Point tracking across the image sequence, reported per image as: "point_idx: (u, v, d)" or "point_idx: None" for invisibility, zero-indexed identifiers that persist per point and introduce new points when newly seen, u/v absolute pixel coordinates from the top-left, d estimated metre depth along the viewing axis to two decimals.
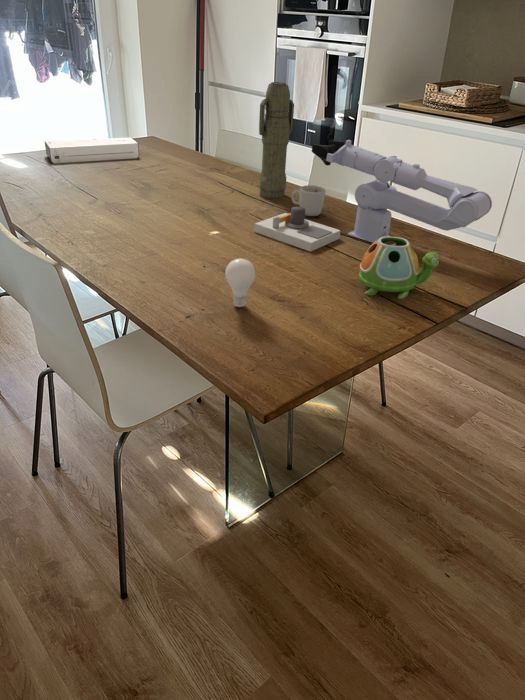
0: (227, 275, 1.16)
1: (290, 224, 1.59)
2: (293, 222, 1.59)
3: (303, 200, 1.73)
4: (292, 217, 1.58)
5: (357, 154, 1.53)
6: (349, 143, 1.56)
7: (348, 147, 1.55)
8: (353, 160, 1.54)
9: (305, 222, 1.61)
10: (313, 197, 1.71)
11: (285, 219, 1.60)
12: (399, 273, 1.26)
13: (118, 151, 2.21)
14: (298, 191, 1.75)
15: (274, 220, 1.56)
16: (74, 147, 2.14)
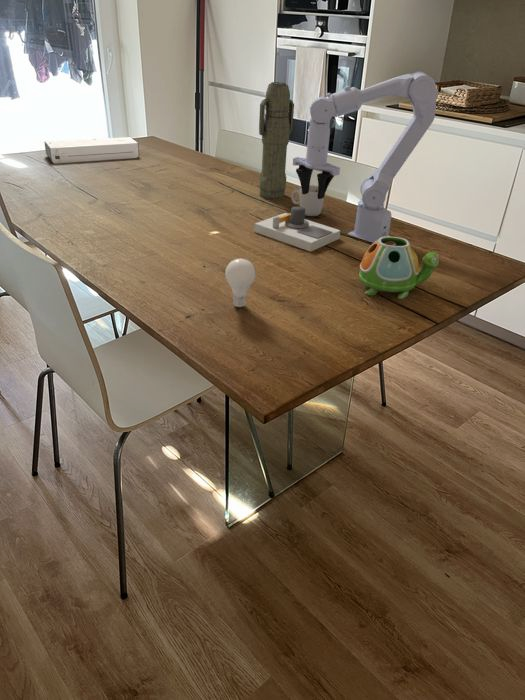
0: (227, 275, 1.16)
1: (290, 224, 1.59)
2: (293, 222, 1.59)
3: (303, 200, 1.73)
4: (292, 217, 1.58)
5: (320, 147, 1.49)
6: (308, 164, 1.52)
7: (315, 162, 1.51)
8: (326, 149, 1.50)
9: (305, 222, 1.61)
10: (313, 197, 1.71)
11: (285, 219, 1.60)
12: (399, 273, 1.26)
13: (118, 151, 2.22)
14: (298, 191, 1.75)
15: (274, 220, 1.56)
16: (74, 147, 2.14)
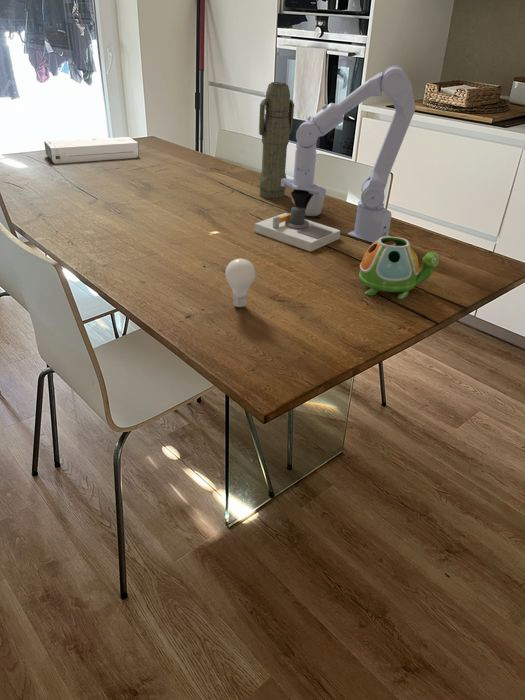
0: (227, 275, 1.16)
1: (290, 224, 1.59)
2: (293, 222, 1.59)
3: None
4: (292, 217, 1.58)
5: (307, 170, 1.54)
6: (295, 186, 1.57)
7: (301, 183, 1.56)
8: (312, 171, 1.55)
9: (305, 222, 1.61)
10: (313, 197, 1.71)
11: (285, 219, 1.60)
12: (399, 273, 1.26)
13: (118, 151, 2.22)
14: None
15: (274, 220, 1.56)
16: (75, 147, 2.14)
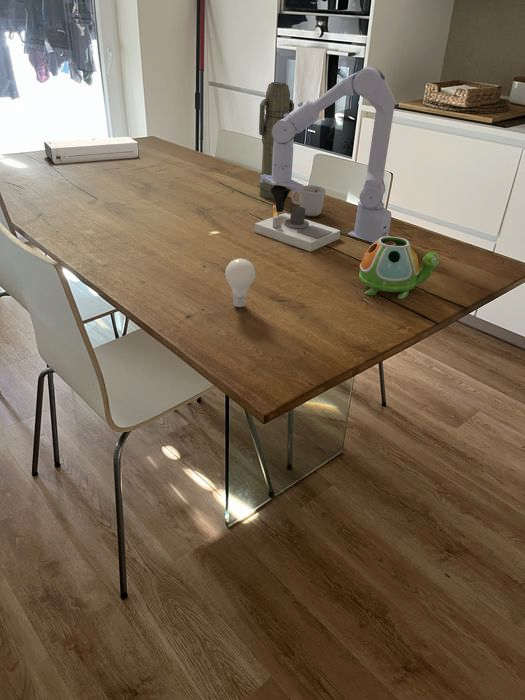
0: (227, 275, 1.16)
1: (290, 224, 1.59)
2: (293, 222, 1.59)
3: (303, 200, 1.73)
4: (292, 217, 1.58)
5: (284, 166, 1.57)
6: (274, 181, 1.60)
7: (279, 179, 1.59)
8: (289, 167, 1.58)
9: (305, 222, 1.61)
10: (313, 197, 1.71)
11: None
12: (399, 273, 1.26)
13: (118, 150, 2.22)
14: None
15: (276, 220, 1.56)
16: (75, 147, 2.14)
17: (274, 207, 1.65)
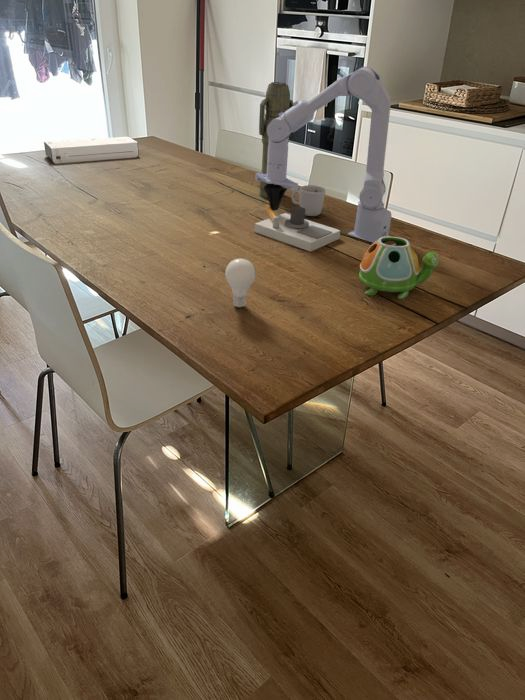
0: (227, 275, 1.16)
1: (290, 224, 1.59)
2: (293, 222, 1.59)
3: (303, 200, 1.73)
4: (292, 217, 1.58)
5: (279, 165, 1.58)
6: (268, 180, 1.60)
7: (274, 178, 1.59)
8: (284, 166, 1.59)
9: (305, 222, 1.61)
10: (313, 197, 1.71)
11: None
12: (399, 273, 1.26)
13: (118, 150, 2.22)
14: (298, 191, 1.75)
15: (277, 220, 1.56)
16: (75, 147, 2.14)
17: (268, 207, 1.65)
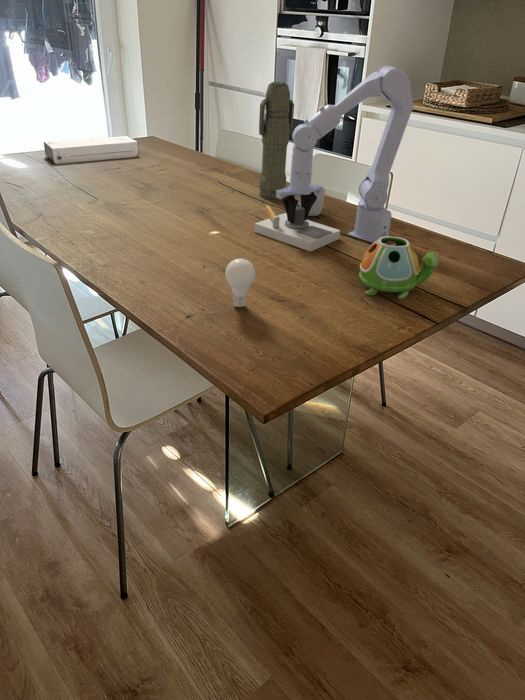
0: (227, 275, 1.16)
1: (290, 224, 1.59)
2: (293, 222, 1.59)
3: None
4: None
5: (311, 172, 1.52)
6: (306, 191, 1.53)
7: (309, 187, 1.53)
8: None
9: (305, 222, 1.61)
10: None
11: None
12: (399, 273, 1.26)
13: (118, 150, 2.23)
14: None
15: (277, 220, 1.56)
16: (76, 147, 2.14)
17: (268, 207, 1.65)
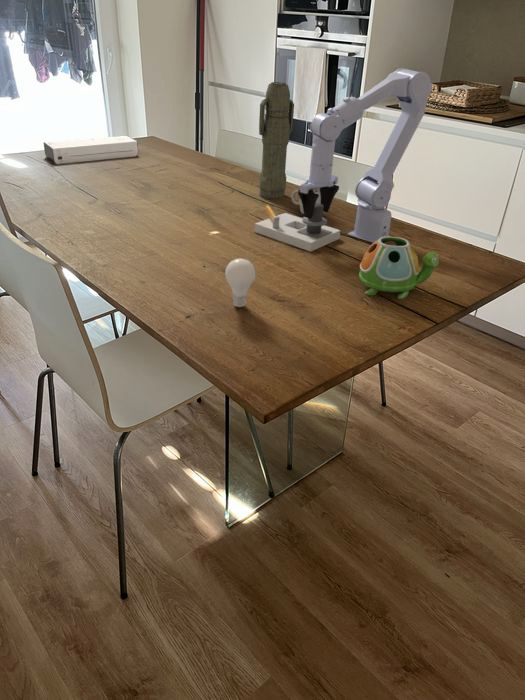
0: (227, 275, 1.16)
1: (310, 222, 1.53)
2: (313, 219, 1.53)
3: None
4: None
5: None
6: (329, 183, 1.47)
7: (330, 178, 1.48)
8: None
9: (322, 218, 1.56)
10: None
11: None
12: (399, 273, 1.26)
13: (118, 150, 2.23)
14: None
15: (277, 220, 1.56)
16: (76, 147, 2.14)
17: (268, 207, 1.65)
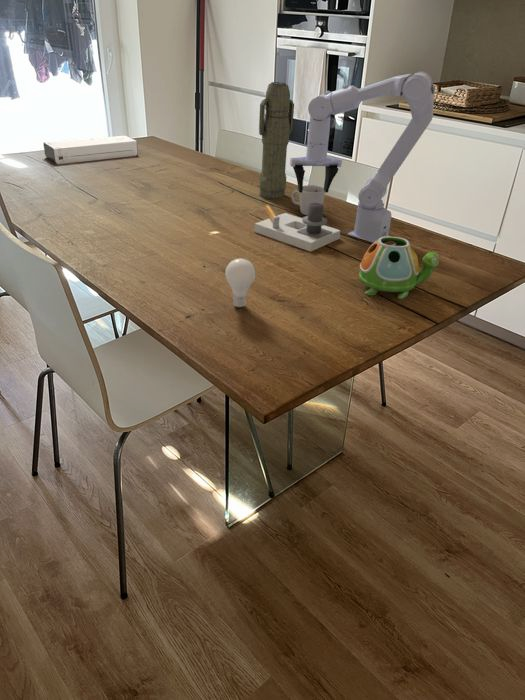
0: (227, 275, 1.16)
1: (310, 222, 1.53)
2: (313, 219, 1.53)
3: (303, 200, 1.73)
4: (311, 214, 1.52)
5: (327, 143, 1.54)
6: (318, 161, 1.55)
7: (323, 158, 1.55)
8: None
9: (322, 218, 1.56)
10: (313, 197, 1.71)
11: None
12: (399, 273, 1.26)
13: (118, 149, 2.24)
14: (298, 191, 1.75)
15: (277, 220, 1.56)
16: (77, 147, 2.14)
17: (268, 207, 1.65)
